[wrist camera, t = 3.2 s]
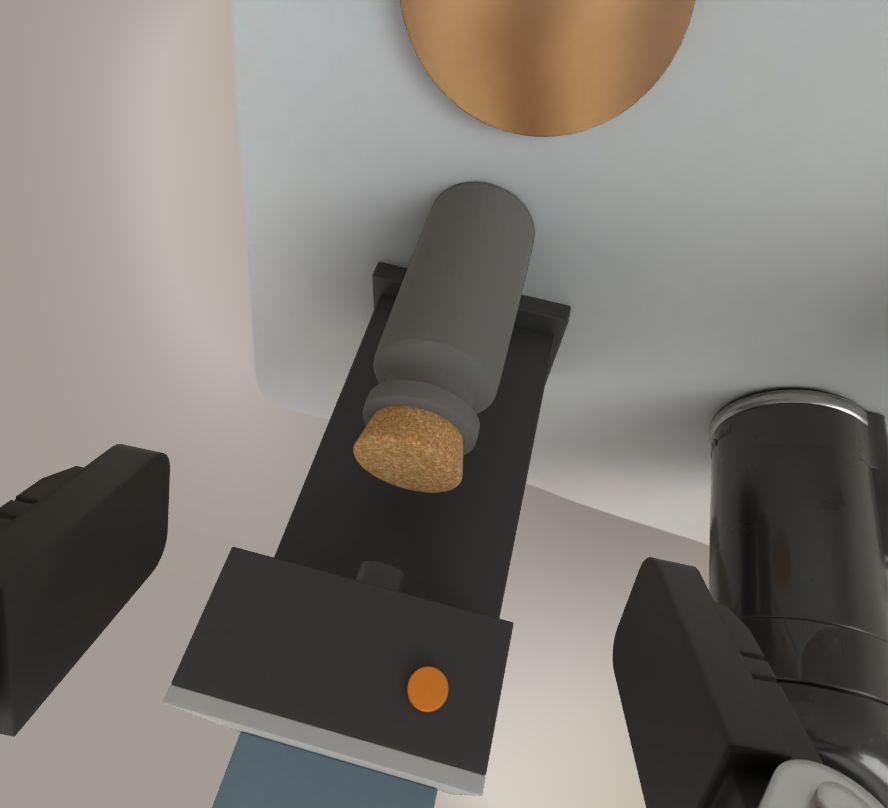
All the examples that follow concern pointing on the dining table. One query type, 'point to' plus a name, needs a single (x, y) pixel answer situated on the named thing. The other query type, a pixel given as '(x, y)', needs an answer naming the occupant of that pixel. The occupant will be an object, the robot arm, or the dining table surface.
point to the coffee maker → (374, 609)
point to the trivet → (545, 57)
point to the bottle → (446, 338)
